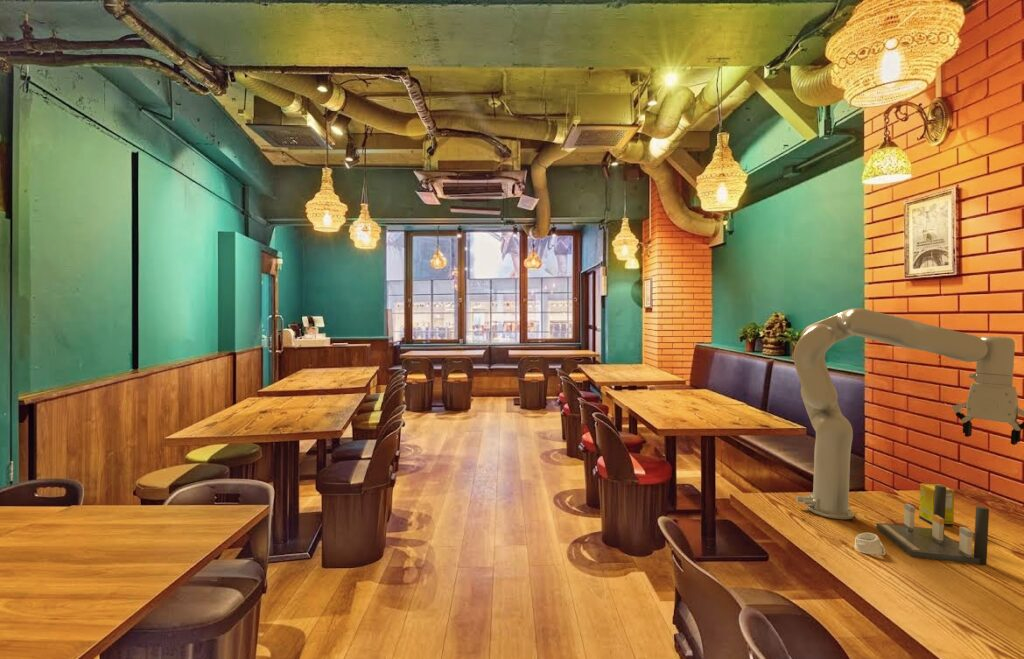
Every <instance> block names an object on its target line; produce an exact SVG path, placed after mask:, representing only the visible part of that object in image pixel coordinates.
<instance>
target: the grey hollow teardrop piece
mask: <svg viewBox="0 0 1024 659" xmlns="http://www.w3.org/2000/svg"><path fill="white" fill-rule="evenodd" d="M854 538H855V540H854V548H855V550H856V551H858V552H859V553H861V554H865V555H867V554H868V555H873V556H886V549H885V547H884V545H883V543H882V542H881V539H880V537H879V536H878V535H877V534H876V533H873V532H862V533H859V534H857V535H856V537H854Z"/></svg>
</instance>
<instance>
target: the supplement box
mask: <svg viewBox="0 0 1024 659" xmlns="http://www.w3.org/2000/svg"><path fill="white" fill-rule="evenodd" d="M935 485H941V486H944V485H943V484H939V483H938V484H937V483H936V484H935V483H920V484H919V507H918V509H919V510H918V513H919V514H918V518H919V520H920V519H921V520H922V521H924V522H926V523H928V524H930V525H931V526H932V522H933V520H932V514H933V515H934V500H935ZM945 487H946V505H945V527H954V522H955V521H954V517H955V516H954V514H955V490H954V489H952V488H950V487H947V486H945Z"/></svg>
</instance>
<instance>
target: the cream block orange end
mask: <svg viewBox="0 0 1024 659" xmlns="http://www.w3.org/2000/svg"><path fill="white" fill-rule="evenodd" d="M932 520H933V522H932V525H931V526H932V527H931V528H932V536H933V537H935V538H936V539H938V540H940V541H943V533H944V534H945V527H944V519H943V518H941V517H940V516H938V515H933V514H932Z"/></svg>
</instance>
